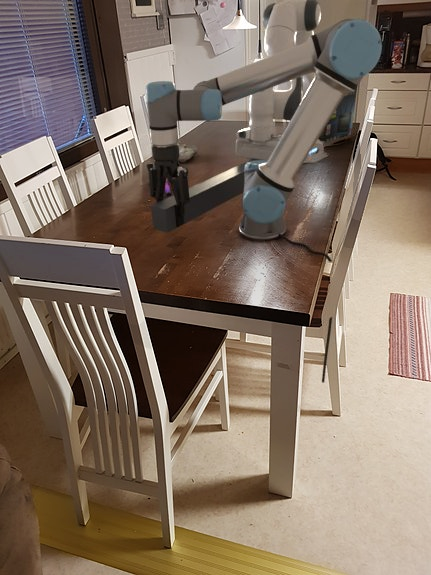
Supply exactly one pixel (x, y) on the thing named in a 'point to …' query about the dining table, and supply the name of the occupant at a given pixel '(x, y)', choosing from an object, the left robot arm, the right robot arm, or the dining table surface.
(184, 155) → the fossil
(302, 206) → the dining table surface
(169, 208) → the bar
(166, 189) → the handgun
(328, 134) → the router box
